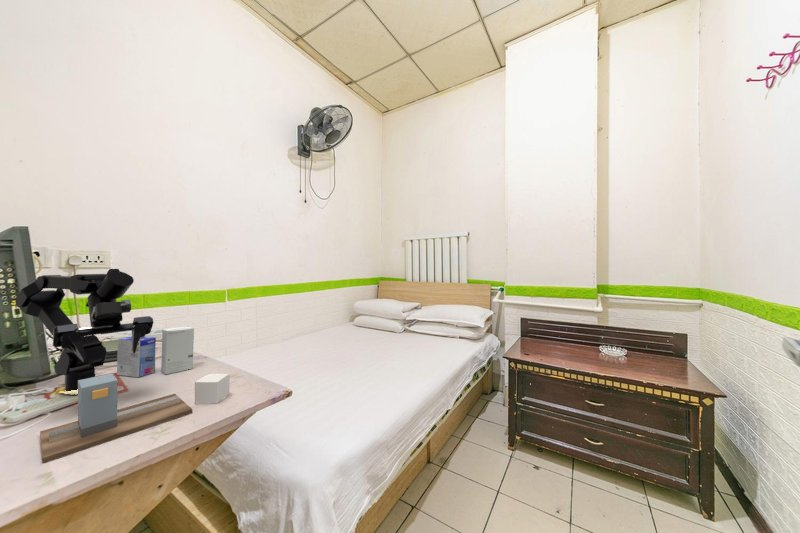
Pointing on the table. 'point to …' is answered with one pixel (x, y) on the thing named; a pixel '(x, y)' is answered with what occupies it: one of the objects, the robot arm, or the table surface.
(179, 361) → the skincare box
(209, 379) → the white cube
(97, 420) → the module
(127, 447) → the table surface
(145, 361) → the ink cartridge box
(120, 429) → the rail board
